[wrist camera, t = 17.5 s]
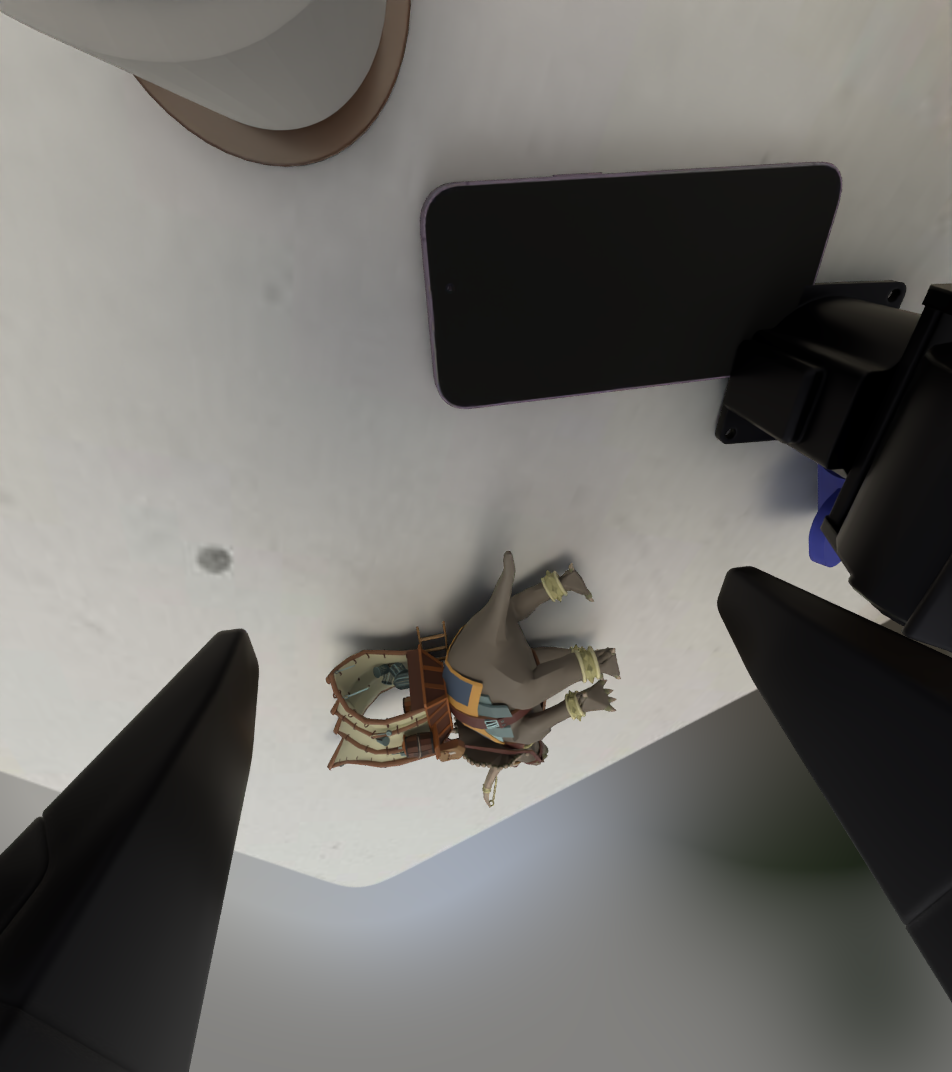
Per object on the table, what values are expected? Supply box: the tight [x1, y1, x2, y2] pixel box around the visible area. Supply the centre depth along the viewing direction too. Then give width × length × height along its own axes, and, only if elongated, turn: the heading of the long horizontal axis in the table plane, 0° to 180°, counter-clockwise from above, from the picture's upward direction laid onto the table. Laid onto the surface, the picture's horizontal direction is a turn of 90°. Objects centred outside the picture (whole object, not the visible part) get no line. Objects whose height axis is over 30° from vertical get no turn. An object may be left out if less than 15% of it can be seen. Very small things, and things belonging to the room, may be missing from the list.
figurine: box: [326, 551, 621, 807], centre depth 27 cm, size 20×6×17 cm
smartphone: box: [420, 162, 842, 409], centre depth 19 cm, size 7×1×15 cm
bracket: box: [809, 464, 845, 567], centre depth 25 cm, size 9×5×3 cm, turn 113°
